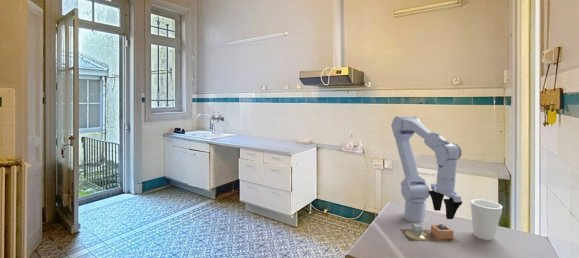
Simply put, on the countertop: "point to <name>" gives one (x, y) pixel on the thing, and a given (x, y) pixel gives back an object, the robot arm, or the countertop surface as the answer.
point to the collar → (442, 232)
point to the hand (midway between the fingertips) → (443, 214)
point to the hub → (416, 233)
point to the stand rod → (442, 227)
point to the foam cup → (485, 218)
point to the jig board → (430, 237)
